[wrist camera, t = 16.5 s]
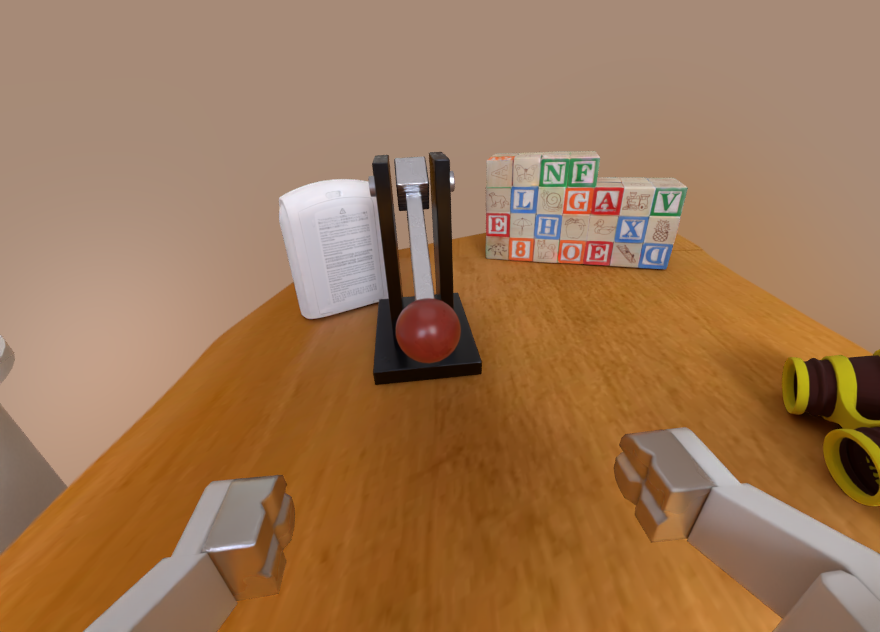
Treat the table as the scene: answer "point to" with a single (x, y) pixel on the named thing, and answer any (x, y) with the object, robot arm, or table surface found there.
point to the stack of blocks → (578, 212)
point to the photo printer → (333, 246)
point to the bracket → (388, 354)
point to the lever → (422, 275)
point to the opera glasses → (842, 416)
